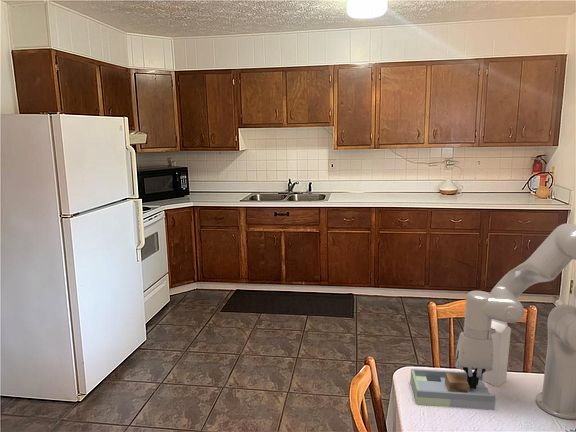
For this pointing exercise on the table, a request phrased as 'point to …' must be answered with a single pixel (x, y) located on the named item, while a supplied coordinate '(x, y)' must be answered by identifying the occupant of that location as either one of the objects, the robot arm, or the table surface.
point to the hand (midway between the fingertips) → (472, 386)
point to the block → (456, 382)
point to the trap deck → (435, 393)
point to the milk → (499, 354)
